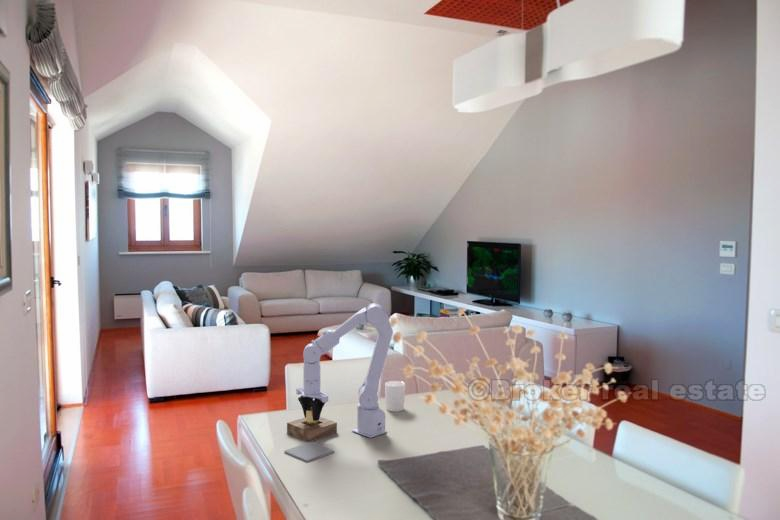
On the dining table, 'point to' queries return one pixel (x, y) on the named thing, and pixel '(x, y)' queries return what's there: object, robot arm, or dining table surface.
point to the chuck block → (311, 428)
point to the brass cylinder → (310, 418)
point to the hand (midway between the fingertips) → (311, 418)
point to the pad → (309, 451)
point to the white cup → (394, 395)
